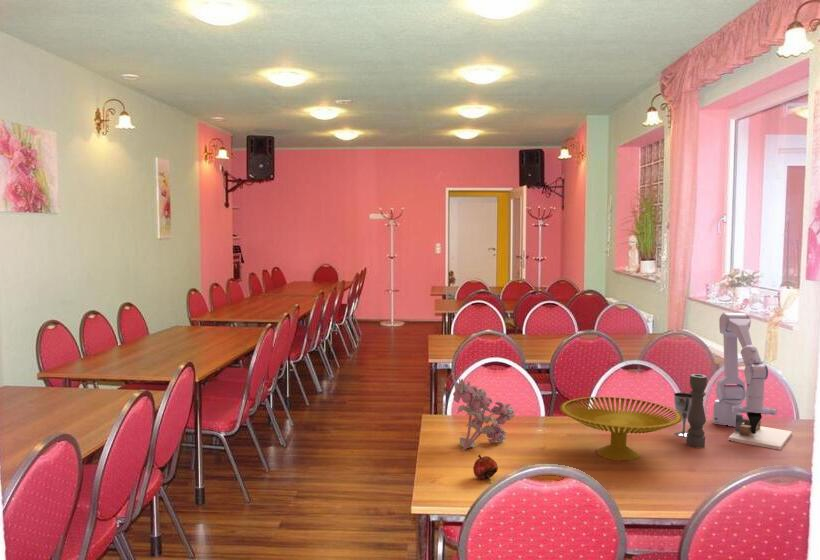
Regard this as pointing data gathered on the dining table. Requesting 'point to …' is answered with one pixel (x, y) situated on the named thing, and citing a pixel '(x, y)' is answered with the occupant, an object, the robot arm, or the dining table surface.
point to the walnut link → (747, 428)
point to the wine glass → (682, 409)
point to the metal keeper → (740, 421)
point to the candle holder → (697, 411)
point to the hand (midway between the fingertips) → (753, 432)
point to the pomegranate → (485, 467)
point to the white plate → (763, 437)
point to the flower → (481, 414)
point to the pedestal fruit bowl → (620, 422)
